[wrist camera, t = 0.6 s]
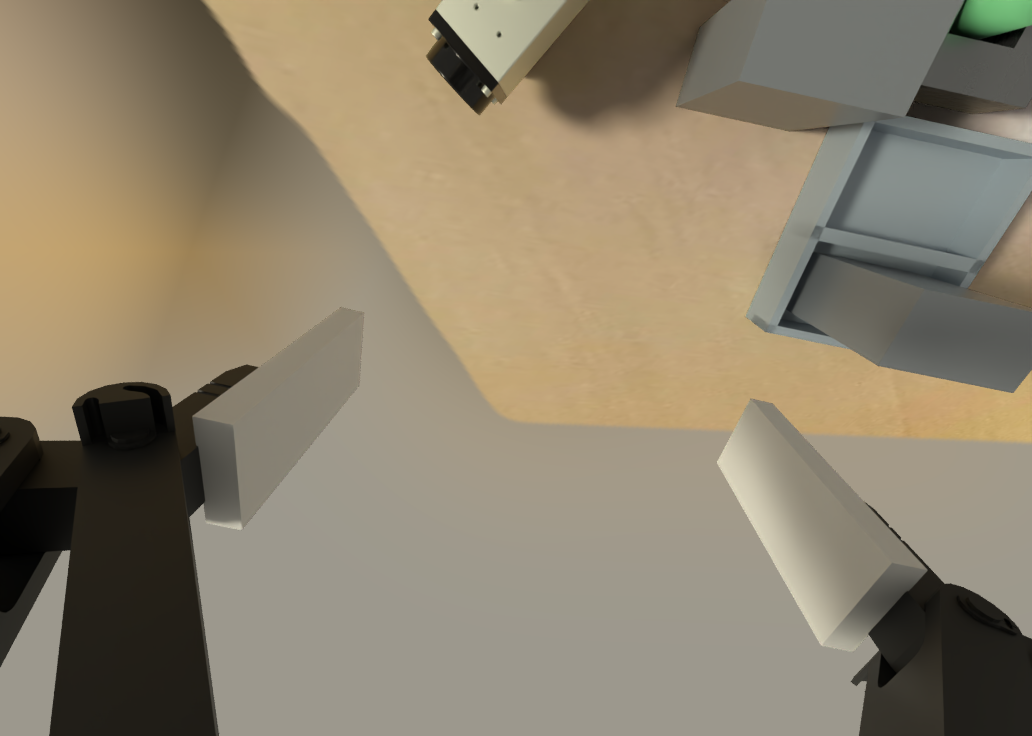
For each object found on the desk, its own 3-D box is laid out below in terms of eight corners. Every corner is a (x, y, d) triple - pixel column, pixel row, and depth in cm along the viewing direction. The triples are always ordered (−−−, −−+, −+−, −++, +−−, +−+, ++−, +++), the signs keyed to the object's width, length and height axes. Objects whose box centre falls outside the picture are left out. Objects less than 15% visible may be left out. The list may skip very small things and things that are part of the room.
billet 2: (810, 250, 36) (924, 289, 25) (914, 272, 36) (1070, 319, 26) (783, 307, 38) (877, 365, 28) (881, 328, 39) (1013, 393, 28)
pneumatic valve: (608, -8, 31) (644, -99, 20) (493, 126, 35) (470, 111, 24) (555, -82, 29) (562, -223, 18) (441, 67, 33) (392, 22, 22)
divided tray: (835, 113, 33) (870, 108, 29) (1003, 150, 33) (1058, 149, 30) (745, 316, 40) (765, 332, 37) (885, 345, 41) (918, 363, 37)
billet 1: (699, 27, 31) (782, -44, 21) (820, 54, 32) (964, -2, 21) (675, 106, 34) (738, 80, 23) (788, 131, 34) (904, 117, 23)
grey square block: (923, -97, 28) (979, -135, 24) (1070, -62, 28) (1147, -94, 25) (843, 85, 32) (881, 75, 29) (972, 114, 33) (1025, 108, 29)
